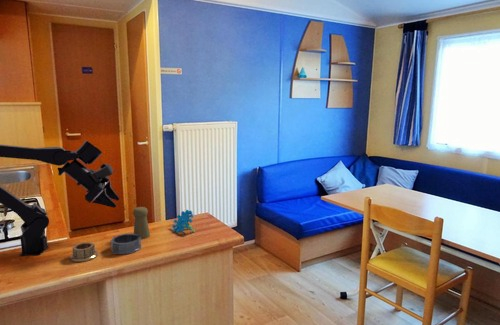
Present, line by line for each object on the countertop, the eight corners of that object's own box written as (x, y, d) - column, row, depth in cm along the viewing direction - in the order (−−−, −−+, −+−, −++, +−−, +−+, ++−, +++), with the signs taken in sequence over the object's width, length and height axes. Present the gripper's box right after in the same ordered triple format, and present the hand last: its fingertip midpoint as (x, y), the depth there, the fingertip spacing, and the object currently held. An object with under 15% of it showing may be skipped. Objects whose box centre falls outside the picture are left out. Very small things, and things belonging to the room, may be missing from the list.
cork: (145, 239, 127) (143, 210, 125) (130, 238, 128) (128, 209, 126) (153, 233, 132) (151, 205, 131) (138, 232, 134) (136, 205, 132)
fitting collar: (107, 255, 114) (107, 244, 113) (115, 243, 123) (114, 234, 123) (138, 253, 115) (137, 243, 114) (143, 242, 124) (143, 232, 124)
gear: (167, 224, 138) (185, 205, 140) (177, 231, 141) (194, 212, 143) (177, 236, 129) (196, 216, 131) (188, 244, 133) (205, 224, 134)
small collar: (66, 262, 108) (65, 251, 108) (76, 252, 116) (75, 241, 116) (93, 261, 109) (92, 250, 109) (101, 250, 117) (100, 240, 117)
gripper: (92, 162, 113) (130, 193, 117) (102, 154, 131) (134, 181, 135) (68, 187, 112) (107, 217, 117) (80, 175, 130) (114, 202, 135)
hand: (117, 203), depth 126 cm, fingers open, 9 cm apart
